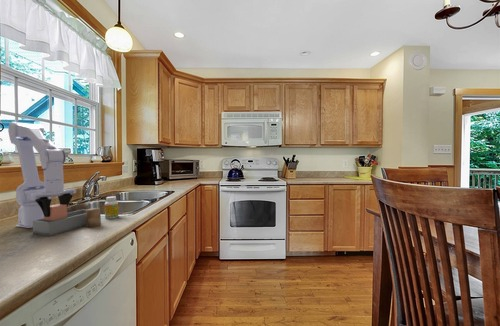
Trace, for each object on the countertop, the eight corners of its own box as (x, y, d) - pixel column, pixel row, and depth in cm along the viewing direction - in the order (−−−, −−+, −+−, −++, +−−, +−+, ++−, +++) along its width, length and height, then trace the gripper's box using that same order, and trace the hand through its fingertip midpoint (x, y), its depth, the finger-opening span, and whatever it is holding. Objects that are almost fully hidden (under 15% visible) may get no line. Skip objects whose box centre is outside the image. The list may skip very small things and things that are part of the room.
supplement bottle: (112, 219, 102) (111, 198, 102) (102, 218, 103) (101, 198, 103) (121, 216, 108) (120, 196, 107) (111, 215, 109) (110, 195, 108)
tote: (33, 233, 84) (32, 220, 84) (83, 220, 101) (82, 209, 101) (49, 236, 81) (48, 222, 81) (97, 221, 98) (97, 210, 98)
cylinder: (83, 227, 91) (83, 210, 91) (95, 223, 96) (94, 207, 96) (92, 228, 90) (91, 210, 89) (103, 224, 94) (102, 208, 94)
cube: (44, 219, 85) (43, 206, 85) (58, 216, 90) (58, 204, 90) (52, 220, 84) (52, 207, 84) (67, 217, 89) (66, 204, 88)
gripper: (37, 182, 78) (39, 220, 79) (80, 178, 92) (81, 210, 93) (25, 182, 81) (27, 219, 81) (68, 178, 94) (70, 209, 95)
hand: (55, 214), depth 87 cm, fingers closed on cube, 5 cm apart
